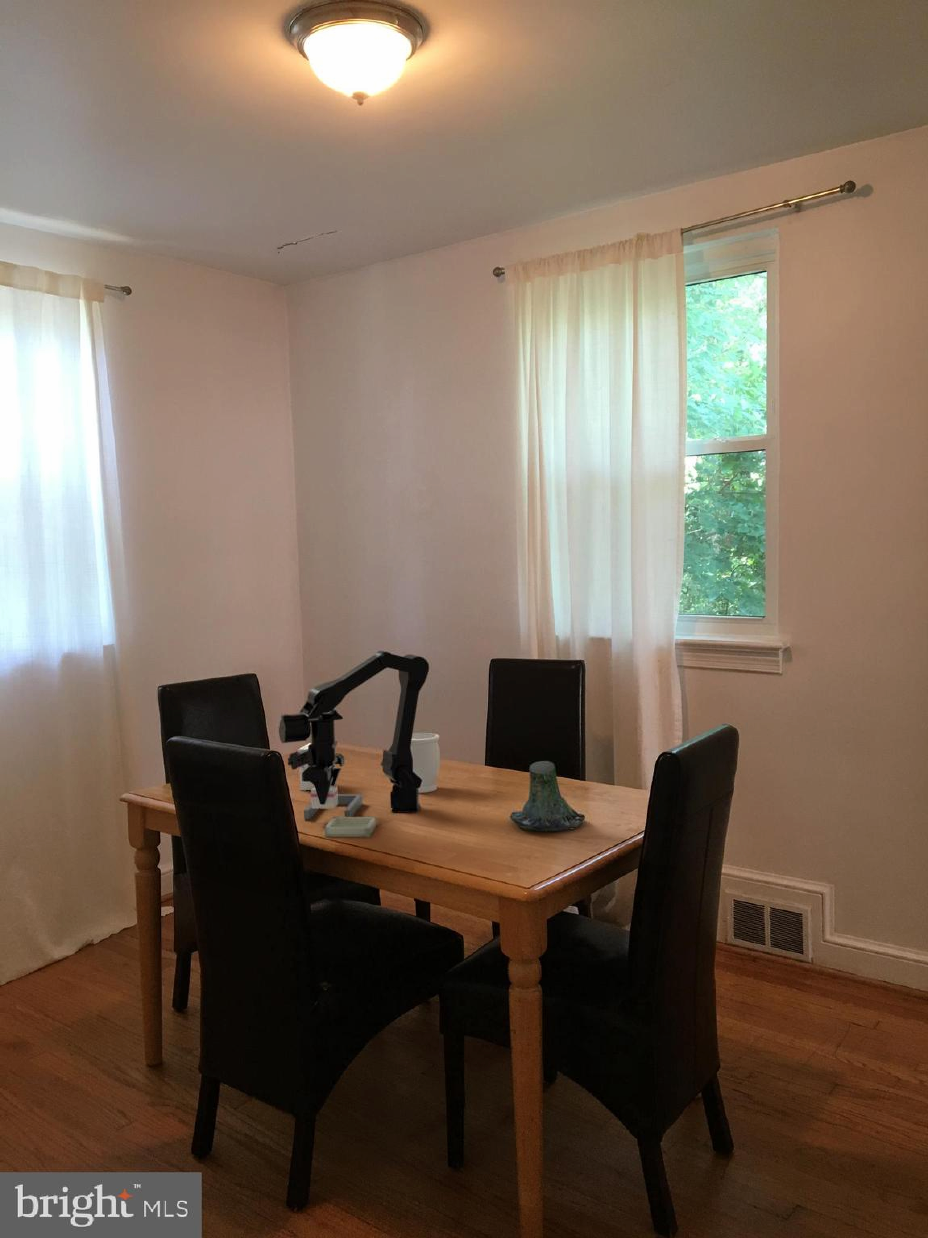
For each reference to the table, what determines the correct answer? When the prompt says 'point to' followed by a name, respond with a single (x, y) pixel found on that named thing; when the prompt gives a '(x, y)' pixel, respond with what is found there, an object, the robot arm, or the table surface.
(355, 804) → the bay
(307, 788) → the ink cartridge box
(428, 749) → the jar
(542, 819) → the tree stump
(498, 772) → the table surface
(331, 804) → the white striped box
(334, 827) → the tray
